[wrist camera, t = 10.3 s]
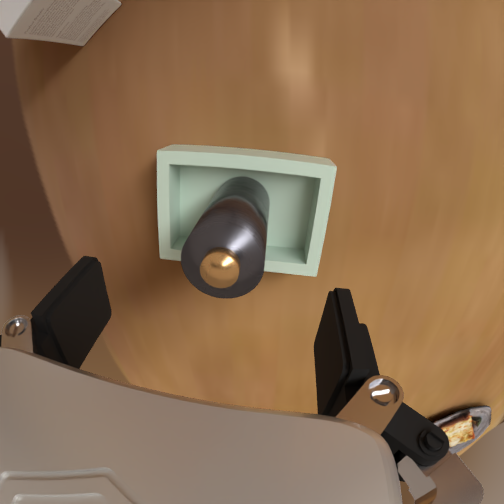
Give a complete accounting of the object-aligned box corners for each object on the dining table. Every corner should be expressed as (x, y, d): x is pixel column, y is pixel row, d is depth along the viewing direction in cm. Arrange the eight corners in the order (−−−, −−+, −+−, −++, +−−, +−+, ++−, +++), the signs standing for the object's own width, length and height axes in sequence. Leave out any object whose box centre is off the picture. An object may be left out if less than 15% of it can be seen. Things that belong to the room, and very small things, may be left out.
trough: (172, 144, 24) (157, 150, 21) (329, 158, 24) (336, 166, 20) (172, 240, 28) (159, 258, 25) (312, 256, 28) (316, 276, 25)
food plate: (369, 439, 42) (371, 456, 39) (489, 381, 35) (496, 396, 32) (396, 469, 51) (398, 481, 48) (484, 428, 44) (489, 439, 41)
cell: (215, 175, 24) (173, 228, 15) (271, 178, 24) (266, 234, 14) (215, 226, 26) (180, 302, 17) (267, 229, 26) (260, 310, 16)
